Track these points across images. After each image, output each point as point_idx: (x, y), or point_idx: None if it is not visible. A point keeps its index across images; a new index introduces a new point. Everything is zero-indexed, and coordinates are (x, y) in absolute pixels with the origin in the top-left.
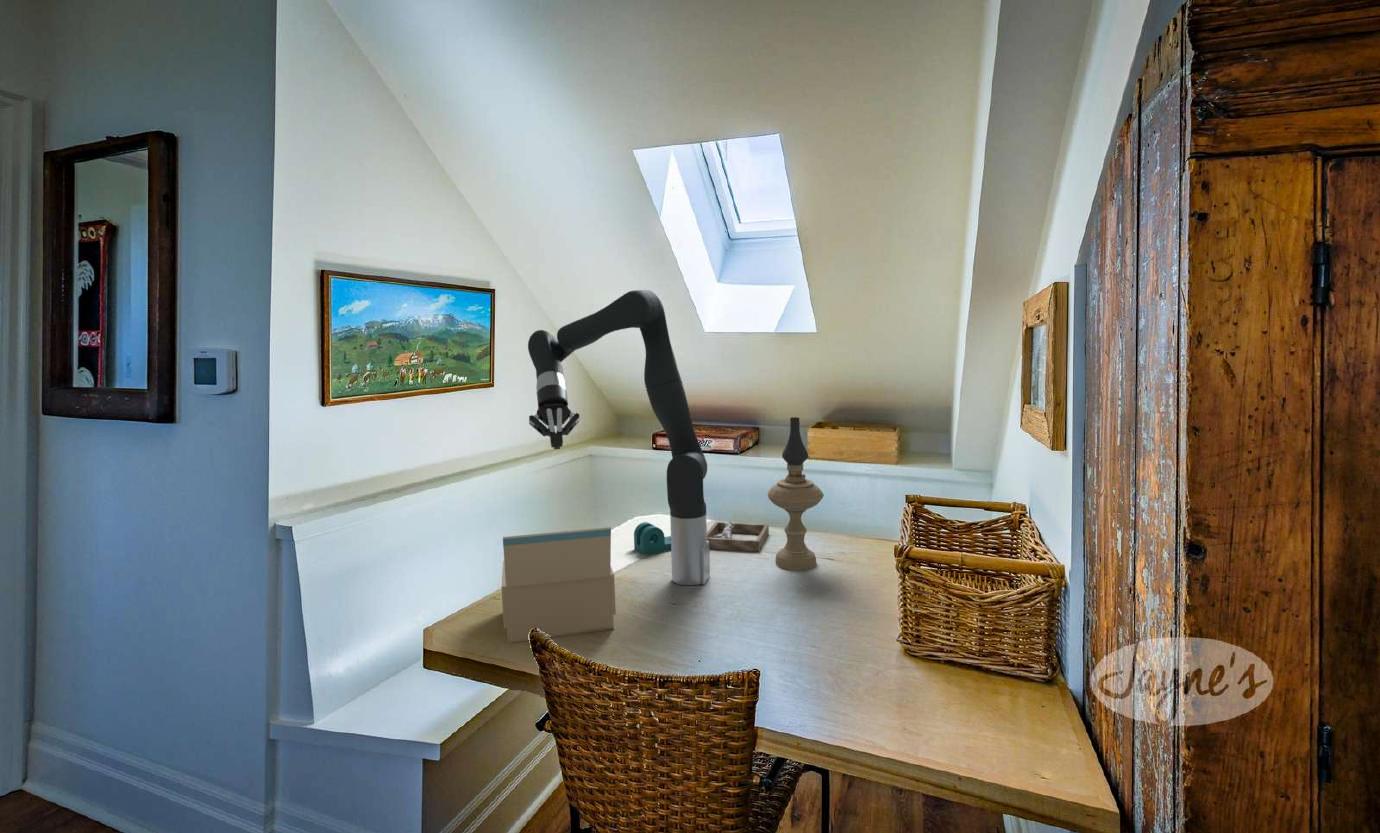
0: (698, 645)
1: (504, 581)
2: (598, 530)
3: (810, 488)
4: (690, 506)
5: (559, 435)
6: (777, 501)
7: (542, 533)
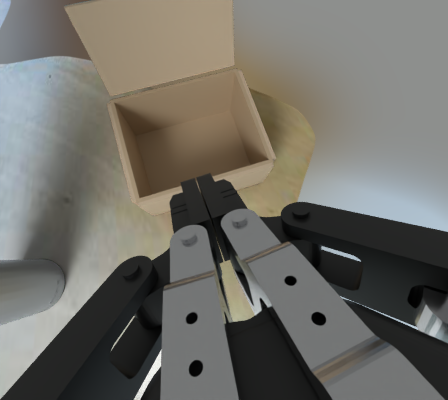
0: (47, 102)
1: (243, 85)
2: (85, 2)
3: None
4: None
5: (189, 222)
6: None
7: None
